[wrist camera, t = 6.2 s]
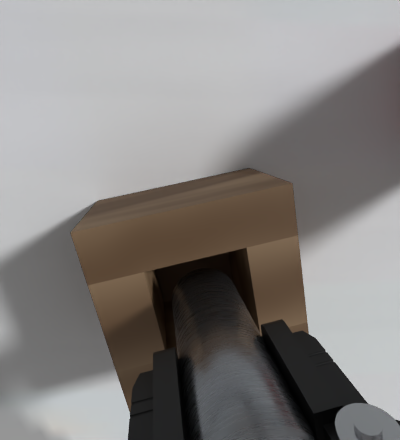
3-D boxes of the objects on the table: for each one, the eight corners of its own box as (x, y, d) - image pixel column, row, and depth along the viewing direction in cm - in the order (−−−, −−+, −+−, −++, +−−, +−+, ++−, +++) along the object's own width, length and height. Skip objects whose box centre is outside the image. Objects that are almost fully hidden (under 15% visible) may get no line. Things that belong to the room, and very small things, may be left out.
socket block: (97, 200, 18) (70, 232, 12) (249, 168, 18) (292, 183, 13) (136, 333, 20) (129, 411, 15) (268, 300, 21) (311, 362, 15)
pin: (165, 276, 14) (219, 953, 2) (230, 260, 14) (562, 806, 3) (179, 333, 15) (269, 1032, 3) (240, 317, 15) (525, 915, 4)
